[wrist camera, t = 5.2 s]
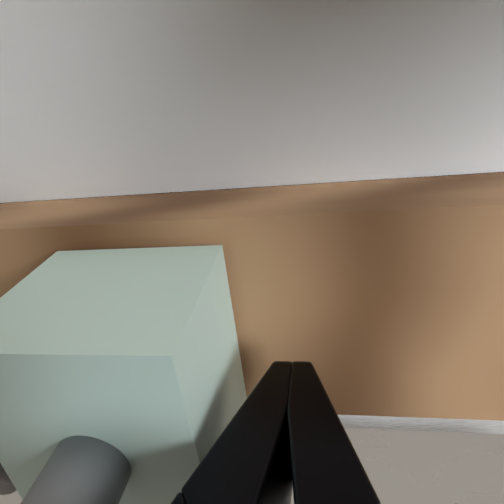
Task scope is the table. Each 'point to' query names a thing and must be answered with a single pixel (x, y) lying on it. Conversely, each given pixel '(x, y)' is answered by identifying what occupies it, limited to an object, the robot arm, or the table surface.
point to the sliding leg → (116, 373)
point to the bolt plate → (413, 460)
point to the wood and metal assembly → (327, 279)
